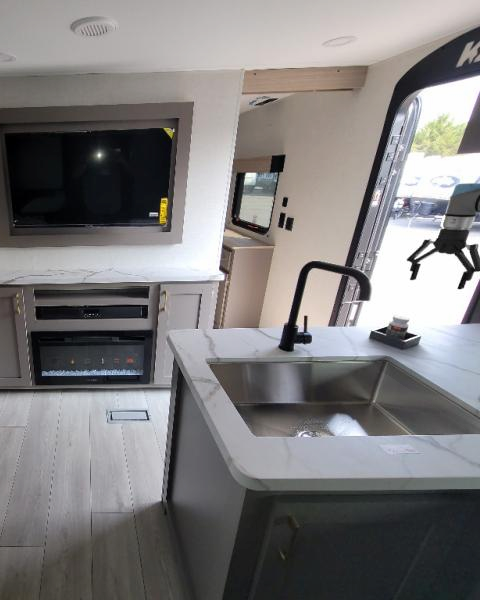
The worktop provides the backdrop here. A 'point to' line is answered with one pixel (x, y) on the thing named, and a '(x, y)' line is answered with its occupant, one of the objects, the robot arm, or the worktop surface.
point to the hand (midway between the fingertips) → (435, 284)
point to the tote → (381, 336)
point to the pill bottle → (398, 327)
